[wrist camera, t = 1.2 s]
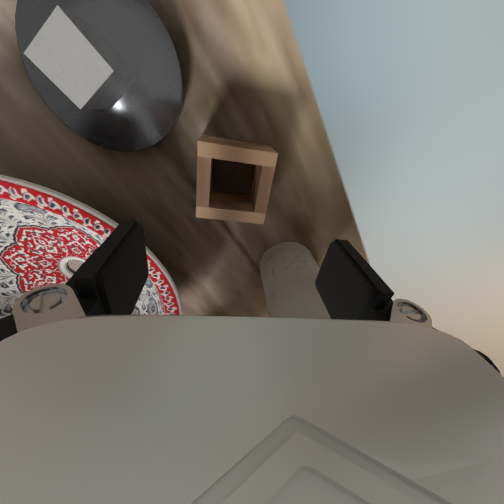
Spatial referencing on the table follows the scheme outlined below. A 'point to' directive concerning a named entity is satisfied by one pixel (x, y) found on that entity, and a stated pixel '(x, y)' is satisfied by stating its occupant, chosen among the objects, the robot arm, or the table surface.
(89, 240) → the ceramic bowl
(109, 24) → the post base
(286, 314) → the thermos bottle
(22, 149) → the table surface
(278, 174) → the table surface
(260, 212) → the hollow wooden square
